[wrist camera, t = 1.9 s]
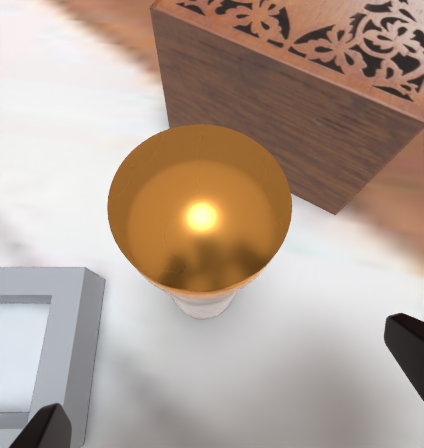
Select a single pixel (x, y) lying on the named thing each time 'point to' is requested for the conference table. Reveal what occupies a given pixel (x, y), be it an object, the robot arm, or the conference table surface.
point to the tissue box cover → (299, 82)
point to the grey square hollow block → (58, 341)
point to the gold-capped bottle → (199, 213)
